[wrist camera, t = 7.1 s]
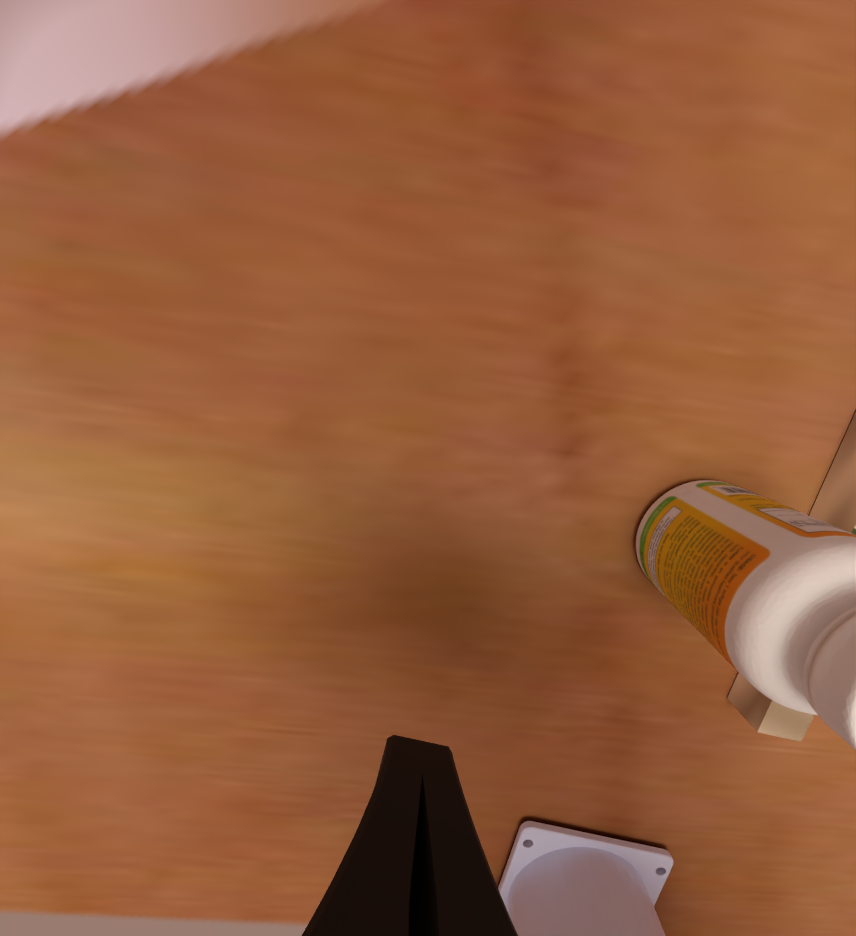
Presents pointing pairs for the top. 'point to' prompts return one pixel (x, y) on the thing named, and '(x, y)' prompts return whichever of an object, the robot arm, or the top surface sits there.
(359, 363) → the top surface
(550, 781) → the top surface
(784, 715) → the stop rail
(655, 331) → the top surface
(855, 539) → the supplement bottle
